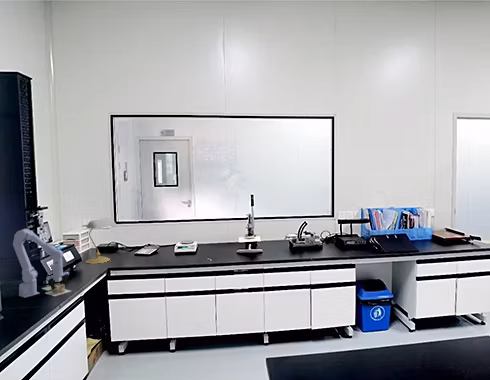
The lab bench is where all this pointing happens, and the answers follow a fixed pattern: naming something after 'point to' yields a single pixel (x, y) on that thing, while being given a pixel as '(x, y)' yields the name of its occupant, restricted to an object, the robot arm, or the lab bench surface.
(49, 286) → the sage pad
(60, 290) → the beech block
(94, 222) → the desk lamp
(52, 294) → the card
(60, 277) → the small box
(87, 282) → the lab bench surface
